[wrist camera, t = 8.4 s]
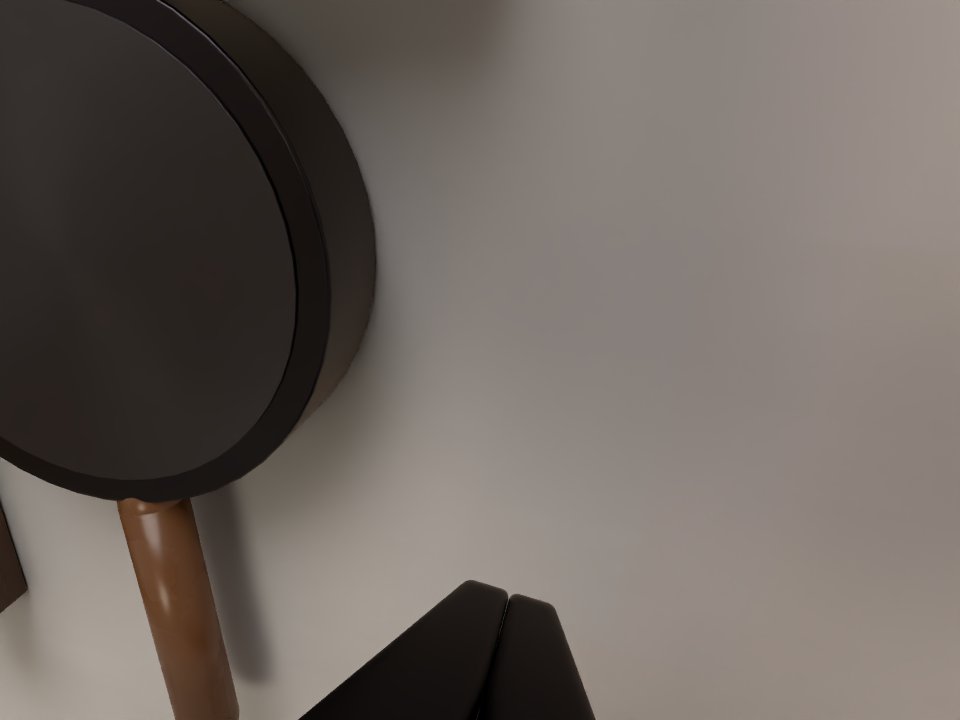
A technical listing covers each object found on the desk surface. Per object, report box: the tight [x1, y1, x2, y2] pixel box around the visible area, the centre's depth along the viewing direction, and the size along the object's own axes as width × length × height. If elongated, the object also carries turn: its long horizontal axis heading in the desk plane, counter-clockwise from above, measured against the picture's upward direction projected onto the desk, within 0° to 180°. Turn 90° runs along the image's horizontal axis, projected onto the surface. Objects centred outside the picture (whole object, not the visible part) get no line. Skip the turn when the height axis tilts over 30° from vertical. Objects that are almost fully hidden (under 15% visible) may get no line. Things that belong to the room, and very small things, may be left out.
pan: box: [0, 0, 376, 720], centre depth 16 cm, size 17×10×2 cm, turn 5°
